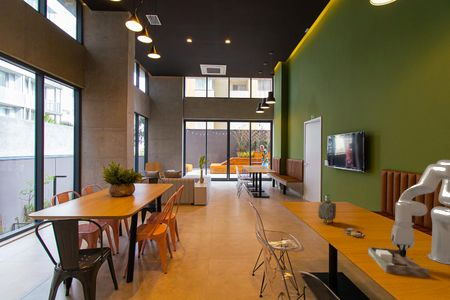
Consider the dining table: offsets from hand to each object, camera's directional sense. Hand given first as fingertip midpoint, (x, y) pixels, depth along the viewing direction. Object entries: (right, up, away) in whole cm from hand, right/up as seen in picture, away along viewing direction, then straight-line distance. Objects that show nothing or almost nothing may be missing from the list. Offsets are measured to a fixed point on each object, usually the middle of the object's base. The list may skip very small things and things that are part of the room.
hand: (402, 256), depth 139 cm
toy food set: (-3, -4, +47) cm, 48 cm away
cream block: (-10, -3, +2) cm, 10 cm away
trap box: (-4, -5, 0) cm, 6 cm away
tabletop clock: (-13, -3, +73) cm, 75 cm away
